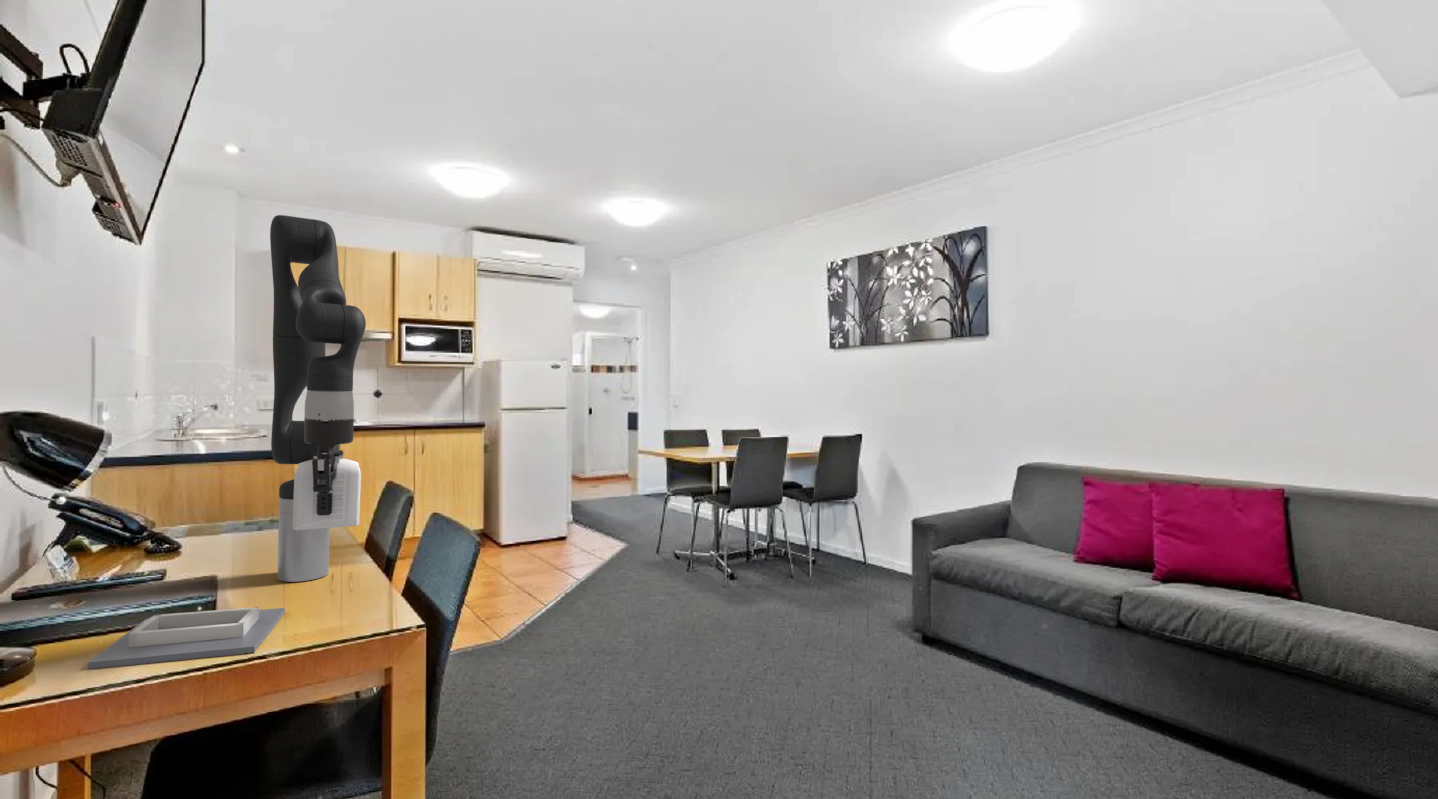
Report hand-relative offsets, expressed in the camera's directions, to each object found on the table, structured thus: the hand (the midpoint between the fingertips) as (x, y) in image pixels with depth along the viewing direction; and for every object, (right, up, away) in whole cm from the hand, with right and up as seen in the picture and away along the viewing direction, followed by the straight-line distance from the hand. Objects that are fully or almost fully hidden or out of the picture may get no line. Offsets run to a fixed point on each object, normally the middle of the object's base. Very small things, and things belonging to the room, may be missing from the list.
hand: (327, 511), depth 115 cm
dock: (-15, -19, -11) cm, 26 cm away
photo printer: (0, -3, 0) cm, 3 cm away
